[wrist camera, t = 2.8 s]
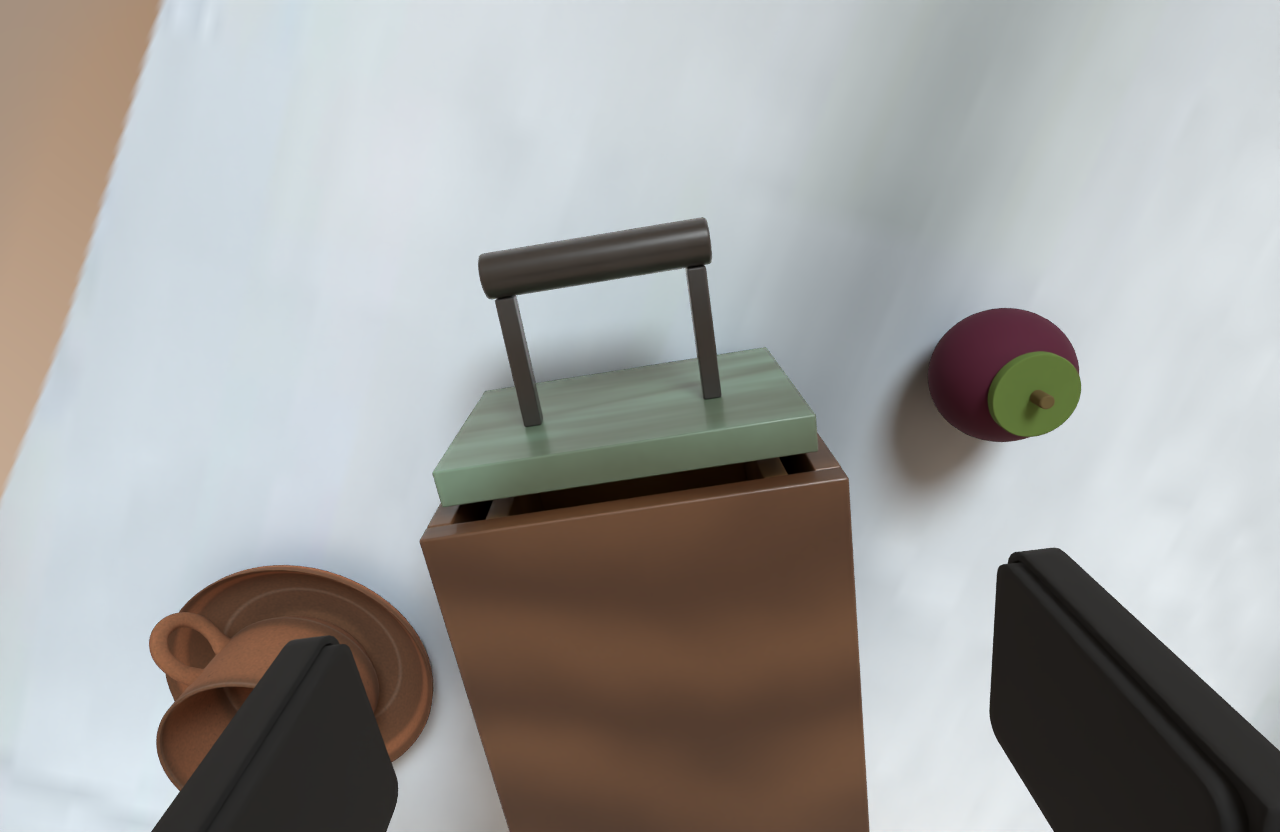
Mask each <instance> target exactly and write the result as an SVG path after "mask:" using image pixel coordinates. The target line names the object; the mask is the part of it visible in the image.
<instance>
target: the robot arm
mask: <svg viewBox="0 0 1280 832" xmlns="http://www.w3.org/2000/svg"><path fill="white" fill-rule="evenodd" d="M989 711H990V721H991V725H992V728H993V731H994V734H995V736H996V738H997V740H998V742H999V744H1000V745H1001V747H1002V749H1003V750H1004V752H1005V753H1006V755H1007V757H1008V758H1009V760H1010V761H1011V763H1012V765H1013V766H1014V768H1015V770H1016V771H1017V773H1018V774H1019V776H1020V778H1021V779H1022V781H1023V782H1024V784H1025V786H1026V787H1027V789H1028V791H1029V792H1030V794H1031V795H1032V797H1033V799H1034V800H1035V802H1036V803H1037V805H1038V807H1039V808H1040V810H1041V812H1042V813H1043V815H1044V816H1045V818H1046V820H1047V821H1048V823H1049V824H1050V826H1051V828H1052V829H1053V831H1054V832H1280V751H1279V750H1278V749H1277V748H1276V747H1275V746H1274V745H1273V744H1271V743H1270V742H1269V741H1268V740H1267V739H1266V738H1265V737H1264V736H1263V735H1262V734H1261V733H1260V732H1258V731H1257V730H1256V729H1255V728H1254V727H1253V726H1252V725H1251V724H1250V723H1249V722H1248V721H1247V720H1245V719H1244V718H1243V717H1242V716H1241V715H1240V714H1239V713H1238V712H1237V711H1236V710H1235V709H1234V708H1233V707H1231V706H1230V705H1229V704H1228V703H1227V702H1226V701H1225V700H1224V699H1223V698H1222V697H1221V696H1220V695H1218V694H1217V693H1216V692H1215V691H1214V690H1213V689H1212V688H1211V687H1210V686H1209V685H1208V684H1207V683H1205V682H1204V681H1203V680H1202V679H1201V678H1200V677H1199V676H1198V675H1197V674H1196V673H1195V672H1194V671H1193V670H1191V669H1190V668H1189V667H1188V666H1187V665H1186V664H1185V663H1184V662H1183V661H1182V660H1181V659H1180V658H1178V657H1177V656H1176V655H1175V654H1174V653H1173V652H1172V651H1171V650H1170V649H1169V648H1168V647H1166V646H1165V645H1164V644H1163V643H1162V642H1161V641H1160V640H1159V639H1158V638H1157V637H1156V636H1155V635H1154V634H1152V633H1151V632H1150V631H1149V630H1148V629H1147V628H1146V627H1145V626H1144V625H1143V624H1142V623H1141V622H1139V621H1138V620H1137V619H1136V618H1135V617H1134V616H1133V615H1132V614H1131V613H1130V612H1129V611H1128V610H1126V609H1125V608H1124V607H1123V606H1122V605H1121V604H1120V603H1119V602H1118V601H1117V600H1116V599H1115V598H1114V597H1112V596H1111V595H1110V594H1109V593H1108V592H1107V591H1106V590H1105V589H1104V588H1103V587H1102V586H1101V585H1099V584H1098V583H1097V582H1096V581H1095V580H1094V579H1093V578H1092V577H1091V576H1090V575H1089V574H1088V573H1086V572H1085V571H1084V570H1083V569H1082V568H1081V567H1080V566H1079V565H1078V564H1077V563H1076V562H1075V561H1074V560H1072V559H1071V558H1070V557H1069V556H1068V555H1067V554H1066V553H1065V552H1063V551H1062V550H1060V549H1059V548H1046V549H1038V550H1030V551H1022V552H1015V553H1013V554H1011V556H1010V558H1009V560H1008V564H1003V565H1001V566H999V568H998V571H997V582H996V601H995V619H994V637H993V655H992V673H991V692H990V710H989ZM397 797H398V781H397V777H396V774H395V771H394V769H393V766H392V763H391V760H390V757H389V755H388V752H387V749H386V746H385V743H384V741H383V738H382V735H381V732H380V729H379V727H378V724H377V721H376V718H375V716H374V713H373V710H372V707H371V704H370V702H369V699H368V696H367V693H366V690H365V688H364V685H363V682H362V679H361V676H360V674H359V671H358V668H357V665H356V662H355V660H354V657H353V654H352V651H351V649H350V647H349V646H348V645H346V644H340V643H339V641H338V640H337V639H336V638H335V637H334V636H331V635H327V636H318V637H310V638H302V639H294V640H291V641H289V642H288V643H287V644H286V645H285V646H284V647H283V648H282V650H281V651H280V653H279V654H278V655H277V657H276V658H275V660H274V661H273V662H272V664H271V665H270V667H269V668H268V669H267V671H266V672H265V674H264V675H263V676H262V678H261V679H260V681H259V682H258V683H257V685H256V686H255V688H254V689H253V690H252V692H251V693H250V695H249V696H248V697H247V699H246V700H245V702H244V703H243V704H242V706H241V707H240V709H239V710H238V711H237V713H236V714H235V716H234V717H233V718H232V720H231V721H230V722H229V724H228V725H227V727H226V728H225V729H224V731H223V732H222V734H221V735H220V736H219V738H218V739H217V741H216V742H215V743H214V745H213V746H212V748H211V749H210V750H209V752H208V753H207V755H206V756H205V757H204V759H203V760H202V762H201V763H200V764H199V766H198V767H197V769H196V770H195V771H194V773H193V774H192V776H191V777H190V778H189V780H188V781H187V783H186V784H185V785H184V787H183V788H182V789H181V791H180V792H179V794H178V795H177V796H176V798H175V799H174V801H173V802H172V803H171V805H170V806H169V808H168V809H167V810H166V812H165V813H164V815H163V816H162V817H161V819H160V820H159V822H158V823H157V824H156V826H155V827H154V829H153V830H152V831H151V832H386V831H387V828H388V826H389V823H390V820H391V818H392V815H393V812H394V809H395V806H396V803H397Z"/></svg>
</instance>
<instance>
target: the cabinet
mask: <svg viewBox="0 0 1280 832" xmlns="http://www.w3.org/2000/svg"><path fill="white" fill-rule="evenodd" d="M817 439H818V451H817V452H810V453H804V454H797V455H790V456H784V457H779V458H780V460H781V462H782V464H783V466H784V468H785V470H786V472H787V474H788V475H783V476H777V477H770V478H763V479H756V480H750V481H743V482H736V483H729V484H723V485H716V486H709V487H702V488H696V489H689V490H682V491H675V492H669V493H662V494H655V495H648V496H642V497H635V498H628V499H621V500H615V501H608V502H601V503H594V504H587V505H581V506H574V507H567V508H560V509H554V510H547V511H540V512H533V513H527V514H520V515H513V516H506V517H500V518H493V519H486V516H487V514H488V511H489V509H490V507H491V504H492V502H493V500H489V501H482V502H475V503H469V504H462V505H455V506H449V507H442V504H440V505H439V507H438V509H437V511H436V513H435V514H434V516H433V518H432V520H431V521H430V523H429V525H428V527H427V529H426V530H425V532H424V534H423V536H422V537H421V539H420V545H421V548H422V551H423V554H424V557H425V561H426V564H427V567H428V570H429V574H430V577H431V580H432V583H433V586H434V590H435V593H436V596H437V599H438V603H439V606H440V609H441V612H442V615H443V619H444V622H445V625H446V628H447V632H448V635H449V638H450V641H451V645H452V648H453V651H454V654H455V657H456V661H457V664H458V667H459V670H460V674H461V677H462V680H463V683H464V686H465V690H466V693H467V696H468V699H469V703H470V706H471V709H472V712H473V715H474V719H475V722H476V725H477V728H478V732H479V735H480V738H481V741H482V744H483V748H484V751H485V754H486V757H487V761H488V764H489V767H490V770H491V773H492V777H493V780H494V783H495V786H496V790H497V793H498V796H499V799H500V803H501V806H502V809H503V812H504V815H505V819H506V822H507V825H508V828H509V832H869V816H868V799H867V782H866V765H865V748H864V731H863V714H862V697H861V680H860V663H859V646H858V629H857V612H856V595H855V578H854V561H853V544H852V527H851V510H850V493H849V478H848V477H847V475H846V474H845V472H844V471H843V470H842V468H841V466H840V465H839V463H838V462H837V460H836V459H835V457H834V456H833V454H832V453H831V452H830V450H829V449H828V447H827V446H826V444H825V443H824V441H823V440H822V439H821V437H820V436H819V434H818V433H817ZM485 519H486V520H485Z"/></svg>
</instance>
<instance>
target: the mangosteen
mask: <svg viewBox="0 0 1280 832" xmlns="http://www.w3.org/2000/svg"><path fill="white" fill-rule="evenodd" d="M928 385H929V390H930V394H931V397H932V399H933V402H934V404H935V406H936V407H937V409H938V411H939V412H940V413H941V415H942V416H943V417H944V418H945V419H946V420H947V421H948V422H949V423H950V424H951V425H952V426H954V427H955V428H957V429H958V430H960V431H961V432H963V433H965V434H967V435H969V436H972V437H975V438H978V439H981V440H986V441H993V442H1009V441H1017V440H1022V439H1025V438H1029V437H1033V436H1039V435H1043V434H1046V433H1048V432H1050V431H1052V430H1054V429H1056V428H1057V427H1059V426H1060V425H1062V424H1063V423H1064V422H1065V421H1066V420H1067V419H1068V418H1069V417H1070V416H1071V414H1072V413H1073V411H1074V410H1075V408H1076V406H1077V404H1078V401H1079V398H1080V394H1081V381H1080V377H1079V365H1078V360H1077V356H1076V353H1075V350H1074V348H1073V346H1072V344H1071V343H1070V341H1069V340H1068V338H1067V337H1066V335H1065V334H1064V333H1063V332H1062V331H1061V330H1060V329H1059V328H1058V327H1057V326H1056V325H1055V324H1053V323H1052V322H1050V321H1049V320H1047V319H1045V318H1043V317H1041V316H1039V315H1037V314H1035V313H1032V312H1029V311H1025V310H1020V309H1013V308H999V309H991V310H986V311H982V312H979V313H976V314H973V315H971V316H969V317H967V318H965V319H963V320H962V321H960V322H958V323H957V324H956V325H955V326H953V327H952V328H951V329H950V330H949V331H948V332H947V333H946V334H945V335H944V336H943V337H942V338H941V340H940V341H939V343H938V344H937V346H936V348H935V350H934V352H933V354H932V357H931V360H930V364H929V369H928Z"/></svg>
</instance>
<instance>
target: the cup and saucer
mask: <svg viewBox="0 0 1280 832" xmlns="http://www.w3.org/2000/svg"><path fill="white" fill-rule="evenodd" d="M327 635H331V636H334V637H335V638H336V639H337V640H338V641H339V643H340V644H346V645H348V646H349V647H350V649H351V651H352V654H353V657H354V660H355V662H356V665H357V668H358V671H359V674H360V676H361V679H362V682H363V685H364V688H365V690H366V693H367V696H368V699H369V702H370V704H371V707H372V710H373V713H374V716H375V718H376V721H377V724H378V727H379V729H380V732H381V735H382V738H383V741H384V743H385V746H386V749H387V752H388V755H389V757H390V760H391V762H393V761H395V760H396V759H397V758H399V757H400V756H401V755H403V754H404V753H405V752H406V751H407V750H408V749H409V748H410V747H411V746H412V745H413V743H414V742H415V741H416V740H417V738H418V737H419V735H420V734H421V732H422V731H423V729H424V727H425V725H426V722H427V720H428V717H429V714H430V709H431V705H432V696H433V676H432V670H431V665H430V661H429V658H428V655H427V653H426V650H425V647H424V646H423V644H422V642H421V640H420V638H419V636H418V635H417V633H416V632H415V630H414V629H413V627H412V626H411V625H410V624H409V622H408V621H407V620H406V619H405V618H404V617H403V615H402V614H401V613H400V612H399V611H398V610H397V609H396V608H394V607H393V606H392V605H391V604H390V603H389V602H387V601H386V600H385V599H383V598H382V597H381V596H379V595H378V594H376V593H375V592H373V591H371V590H370V589H368V588H366V587H365V586H363V585H361V584H359V583H357V582H355V581H353V580H350V579H348V578H345V577H343V576H340V575H337V574H334V573H331V572H328V571H324V570H319V569H315V568H309V567H302V566H290V565H273V566H263V567H257V568H252V569H247V570H243V571H240V572H237V573H234V574H231V575H229V576H226V577H224V578H222V579H220V580H218V581H216V582H214V583H213V584H211V585H209V586H207V587H206V588H204V589H203V590H202V591H200V592H199V593H197V594H196V595H195V596H194V597H193V598H191V599H190V600H189V601H188V602H187V603H186V604H185V606H184V607H183V608H182V609H181V610H180V612H179V613H175V614H172V615H169V616H167V617H165V618H164V619H162V620H161V621H160V622H158V624H157V625H156V626H155V627H154V629H153V631H152V633H151V635H150V640H149V648H150V653H151V656H152V658H153V660H154V662H155V663H156V665H157V666H158V667H159V668H160V669H161V670H162V671H163V672H164V673H165V674H166V679H167V682H168V685H169V689H170V691H171V694H172V696H173V698H174V701H175V702H174V703H173V705H172V706H171V707H170V708H169V709H168V711H167V712H166V713H165V715H164V716H163V718H162V720H161V722H160V725H159V728H158V732H157V739H156V745H157V753H158V757H159V760H160V763H161V765H162V767H163V769H164V771H165V773H166V775H167V776H168V778H169V779H170V780H171V782H172V783H173V784H174V785H175V787H176V788H177V789H178V790H179V791H181V789H182V788H183V787H184V785H185V784H186V783H187V781H188V780H189V778H190V777H191V776H192V774H193V773H194V771H195V770H196V769H197V767H198V766H199V764H200V763H201V762H202V760H203V759H204V757H205V756H206V755H207V753H208V752H209V750H210V749H211V748H212V746H213V745H214V743H215V742H216V741H217V739H218V738H219V736H220V735H221V734H222V732H223V731H224V729H225V728H226V727H227V725H228V724H229V722H230V721H231V720H232V718H233V717H234V716H235V714H236V713H237V711H238V710H239V709H240V707H241V706H242V704H243V703H244V702H245V700H246V699H247V697H248V696H249V695H250V693H251V692H252V690H253V689H254V688H255V686H256V685H257V683H258V682H259V681H260V679H261V678H262V676H263V675H264V674H265V672H266V671H267V669H268V668H269V667H270V665H271V664H272V662H273V661H274V660H275V658H276V657H277V655H278V654H279V653H280V651H281V650H282V648H283V647H284V646H285V645H286V644H287V643H288V642H289V641H291V640H294V639H302V638H310V637H318V636H327Z"/></svg>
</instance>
